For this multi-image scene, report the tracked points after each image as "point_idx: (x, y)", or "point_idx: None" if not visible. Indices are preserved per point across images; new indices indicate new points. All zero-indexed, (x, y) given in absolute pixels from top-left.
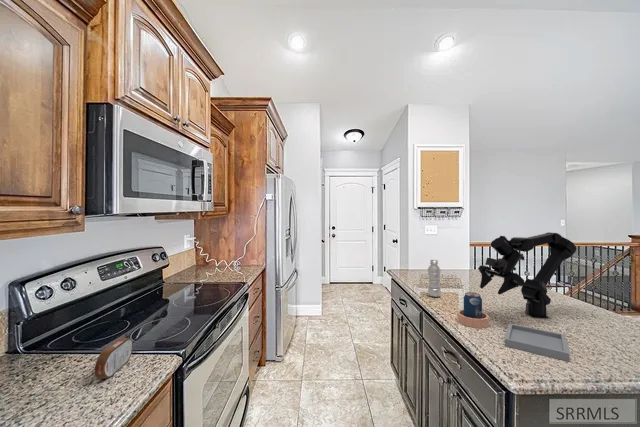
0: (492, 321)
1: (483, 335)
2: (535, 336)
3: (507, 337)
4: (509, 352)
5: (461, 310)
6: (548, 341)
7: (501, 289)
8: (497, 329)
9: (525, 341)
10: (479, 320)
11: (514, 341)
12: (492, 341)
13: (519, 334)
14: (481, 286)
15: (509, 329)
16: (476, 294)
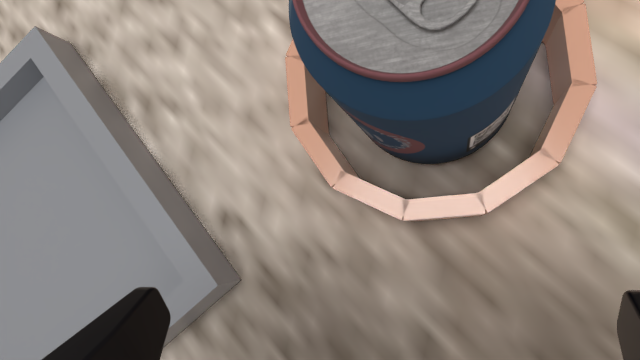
0: (408, 284)
1: (208, 12)
2: (66, 316)
3: (42, 58)
4: (16, 14)
5: (561, 16)
6: (2, 326)
7: (54, 351)
8: (261, 188)
9: (38, 181)
10: (293, 44)
11: (2, 64)
12: (129, 12)
13: (114, 235)
14: (634, 321)
15: (125, 177)
16: (428, 53)
